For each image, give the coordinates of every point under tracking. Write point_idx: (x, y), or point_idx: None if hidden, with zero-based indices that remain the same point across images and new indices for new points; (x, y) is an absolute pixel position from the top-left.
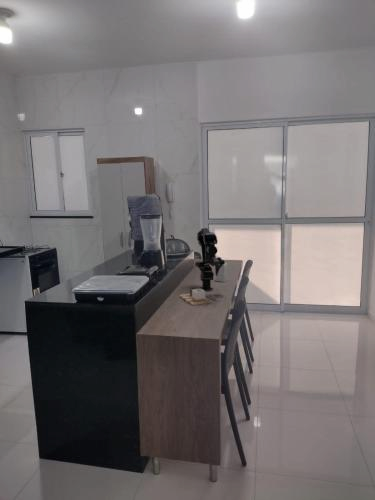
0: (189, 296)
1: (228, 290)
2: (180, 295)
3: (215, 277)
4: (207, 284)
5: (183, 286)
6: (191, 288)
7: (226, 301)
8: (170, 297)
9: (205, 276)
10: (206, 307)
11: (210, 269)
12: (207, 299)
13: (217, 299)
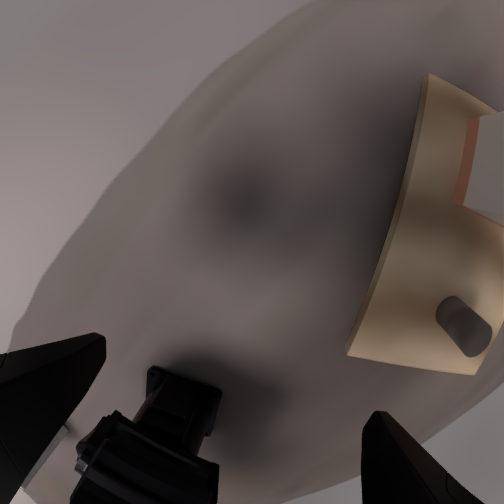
0: (472, 306)
1: (78, 251)
2: (479, 364)
3: (59, 442)
4: (184, 406)
5: (271, 492)
6: (466, 356)
7: (304, 14)
8: (494, 384)
9: (183, 471)
10: (498, 50)
11: (92, 500)
12: (441, 123)
13: (330, 99)
